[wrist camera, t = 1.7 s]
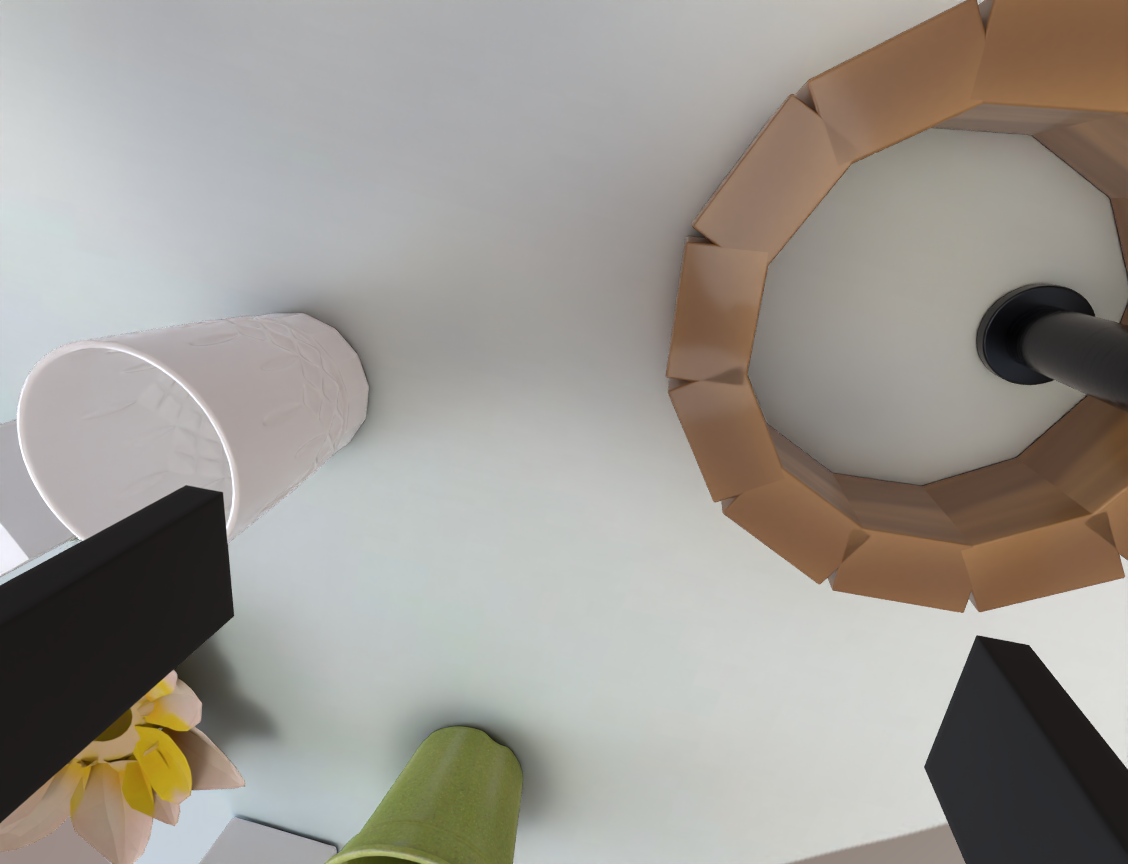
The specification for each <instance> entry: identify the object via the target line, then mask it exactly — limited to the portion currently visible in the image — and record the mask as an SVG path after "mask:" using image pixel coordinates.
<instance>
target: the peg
mask: <svg viewBox="0 0 1128 864" xmlns="http://www.w3.org/2000/svg"><path fill="white" fill-rule="evenodd" d="M977 349H978V353H979V356H980V358H981V360H982V362H983V364H984V365H985V366H986V367H987V368H988V369H989V370H990V371H991V372H992V373H994V374H995V375H997V376H999V377H1001V378H1002V379H1005V380H1007V381H1009V382H1012V383H1016V384H1021V385H1036V384H1042V383H1046V382H1050V381H1053V380H1056V381H1058V382H1060V383H1063V384H1065V385H1067V386H1069V387H1071V388H1074V389H1076V390H1078V391H1080V392H1083V393H1085V394H1087V395H1089V396H1091V397H1094V398H1096V399H1098V400H1100V401H1102V402H1105V403H1107V404H1109V405H1111V406H1114V407H1116V408H1118V409H1120V410H1122V411H1125V412H1127V413H1128V325H1125V324H1121V323H1117V322H1113V321H1109V320H1105V319H1101V318H1098V317H1095V314H1094V311H1093V309H1092V307H1091V305H1090V304H1089V303H1088V301H1087V300H1086V299H1085V298H1084V297H1083V296H1082V295H1080V294H1079V293H1077V292H1076V291H1074V290H1072V289H1069V288H1066V287H1062V286H1057V285H1051V284H1034V285H1028V286H1025V287H1021V288H1019V289H1016V290H1014V291H1012V292H1010V293H1008V294H1006V295H1005V296H1003V297H1002V298H1001V299H999V300H998V301H997V302H996V303H995V304H994V305H993V306H992V307H991V308H990V309H989V310H988V312H987V313H986V315H985V316H984V318H983V320H982V322H981V324H980V327H979V330H978V334H977Z"/></svg>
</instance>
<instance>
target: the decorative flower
mask: <svg viewBox="0 0 1128 864" xmlns="http://www.w3.org/2000/svg"><path fill="white" fill-rule="evenodd" d="M201 713H202V703H201V701H200V700H199V699H198V697H197V696H196V694H195V693H194V692H193V690H192V689H191V688H190V687H189V686H187V685H186V684H185V683H184V682H183V681H182V680H180V679H178V678H177V674H176V672H175V671H174V670H173V671H171V672H170V673H169V674H168V675H167V676H166V677H165V678H164V679H162V680H161V681H160V682H159V683H158V684H157V685H156V686H155V687H153V688H152V689H151V690H150V691H149V692H148V693H147V694H146V695H144V696H143V697H142V698H141V699H140V700H139V701H138V702H137V703H135V704H134V705H133V706H132V707H131V708H130V709H129V710H127V711H126V712H125V713H124V714H123V715H122V716H121V717H120V718H118V719H117V720H116V721H115V722H114V723H113V724H112V725H111V726H109V727H108V728H107V729H106V730H105V731H104V732H103V733H102V734H100V735H99V736H98V737H97V738H96V739H95V740H94V741H93V742H91V743H90V744H89V745H88V746H87V747H86V748H85V749H84V750H82V751H81V752H80V753H79V754H78V755H77V756H76V757H75V758H73V759H72V760H71V761H70V762H69V763H68V764H67V765H65V766H64V767H63V768H62V769H61V770H60V771H59V772H58V773H56V774H55V775H54V776H53V777H52V778H51V779H50V780H49V781H47V782H46V783H45V784H44V785H43V786H42V787H41V788H40V789H38V790H37V791H36V792H35V793H34V794H33V795H32V796H31V797H29V798H28V799H27V800H26V801H25V802H24V803H23V804H22V805H20V806H19V807H18V808H17V809H16V810H15V811H14V812H13V813H11V814H10V815H9V816H8V817H7V818H6V819H5V820H3V821H2V822H1V823H0V852H4V851H10V850H16V849H19V848H21V847H24V846H27V845H29V844H32V843H35V842H37V841H38V840H40V839H42V838H44V837H45V836H47V835H49V834H51V833H52V832H53V831H54V830H55V829H56V828H58V827H59V826H60V825H61V824H62V823H63V822H64V821H65V820H66V819H67V818H68V817H69V816H70V818H71V821H72V823H73V827H74V830H75V832H76V833H77V834H78V835H80V836H81V837H82V838H83V839H84V840H85V841H87V842H88V843H89V844H90V845H91V846H92V847H93V848H95V849H96V850H97V851H98V852H99V853H100V854H102V855H103V856H104V857H105V858H106V859H107V860H109V861H110V862H111V863H112V864H134V863H135V862H136V861H137V860H138V859H139V858H140V857H141V856H142V855H143V853H144V851H145V848H146V846H147V843H148V841H149V838H150V835H151V829H152V823H153V818H155V819H157V820H160V821H162V822H164V823H167V824H170V825H173V826H175V825H176V824H177V823H178V819H179V815H180V805H179V804H180V803H181V802H183V801H184V800H185V799H187V798H188V797H189V796H190V795H191V790H210V789H232V788H239V787H245V780H244V779H243V777H242V776H241V774H240V773H239V771H238V770H237V768H236V767H235V766H234V765H233V763H232V762H231V761H230V760H229V759H228V757H227V756H226V755H225V754H224V753H223V752H222V751H221V750H220V749H219V748H218V747H217V746H216V745H215V744H214V743H213V742H212V741H211V740H210V739H209V738H208V737H207V736H206V735H205V734H204V733H203V732H202V731H200V730H199V729H198V728H196V727H195V725H197V724H198V723H200V722H201ZM158 728H163V730H162V731H161V730H160V729H158Z"/></svg>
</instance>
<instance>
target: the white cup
mask: <svg viewBox="0 0 1128 864" xmlns="http://www.w3.org/2000/svg"><path fill="white" fill-rule="evenodd" d="M368 392H369V386H368V383H367V380H366V377H365V374H364V371H363V368H362V365H361V362H360V359H359V356H358V354H357V353H356V352H355V351H354V350H353V349H352V347H351V346H350V345H349V344H348V343H347V342H346V340H345V339H344V338H343V337H342V336H341V335H340V334H339V332H338V331H337V330H336V329H335V328H333V327H331V326H329V325H327V324H325V323H323V322H321V321H319V320H317V319H315V318H313V317H311V316H309V315H307V314H305V313H271V314H265V315H260V316H254V317H252V316H242V317H233V318H226V319H219V320H209V321H201V322H194V323H188V324H182V325H176V326H170V327H164V328H158V329H151V330H145V331H139V332H133V333H127V334H120V335H114V336H107V337H101V338H95V339H88V340H81V341H76V342H72V343H68V344H65V345H62V346H60V347H58V348H56V349H54V350H52V351H51V352H49V353H48V354H46V355H45V356H44V357H42V358H41V359H40V360H39V361H38V362H37V363H36V364H35V366H34V367H33V368H32V370H31V371H30V373H29V374H28V376H27V378H26V380H25V382H24V384H23V387H22V389H21V393H20V396H19V401H18V408H17V431H18V438H19V444H20V448H21V452H22V456H23V459H24V462H25V464H26V467H27V470H28V472H29V474H30V476H31V478H32V480H33V482H34V484H35V486H36V488H37V490H38V491H39V493H40V495H41V496H42V498H43V499H44V501H45V502H46V504H47V505H48V506H49V508H50V509H51V510H52V512H53V513H54V514H55V515H56V516H57V517H58V519H59V520H60V521H61V522H62V523H63V524H64V525H65V526H66V527H67V528H68V529H69V530H70V531H71V532H72V533H73V534H75V535H76V536H77V537H78V538H79V539H81V540H82V541H84V540H85V539H87V538H89V537H91V536H93V535H95V534H97V533H98V532H100V531H102V530H104V529H106V528H108V527H110V526H111V525H113V524H115V523H117V522H119V521H121V520H122V519H124V518H126V517H128V516H130V515H132V514H134V513H135V512H137V511H139V510H141V509H143V508H145V507H146V506H148V505H150V504H152V503H154V502H156V501H158V500H159V499H161V498H163V497H165V496H167V495H169V494H171V493H172V492H174V491H176V490H178V489H180V488H182V487H183V486H185V485H188V486H193V487H199V488H204V489H209V490H214V491H220V492H223V498H224V509H225V520H226V531H227V542H228V543H229V542H230V541H232V540H233V539H234V538H235V537H237V536H238V535H239V534H240V533H242V532H243V531H244V530H245V529H246V528H248V527H249V526H250V525H251V524H253V523H254V522H255V521H256V520H258V519H259V518H260V517H261V516H263V515H264V514H265V513H266V512H268V511H269V510H270V509H272V508H273V507H274V506H275V505H277V504H278V503H279V502H280V501H282V500H283V499H284V498H285V497H287V496H288V495H289V494H290V493H291V492H293V491H294V490H295V489H296V488H297V487H298V486H299V485H300V484H301V483H302V482H303V481H305V480H306V479H307V478H309V477H310V476H311V475H312V474H314V473H315V472H316V471H317V470H318V469H319V468H320V467H321V466H322V465H323V464H324V463H325V462H326V461H327V460H328V459H329V458H330V457H331V456H332V455H334V454H335V453H336V452H337V451H339V450H340V449H341V448H343V447H344V446H345V445H347V444H348V443H349V442H350V441H351V440H352V438H353V437H354V435H355V434H356V432H357V431H358V429H359V428H360V426H361V425H362V423H363V422H364V420H365V419H366V413H367V402H368Z"/></svg>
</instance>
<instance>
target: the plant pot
mask: <svg viewBox="0 0 1128 864" xmlns="http://www.w3.org/2000/svg"><path fill="white" fill-rule="evenodd" d="M522 786H523V774H522V770H521V767H520V764H519V762H518V760H517V759H516V757H515V755H514V754H513V753H512V751H511V750H510V749H509V748H508V747H506V746H502V745H499V744H498V743H496V742H494V741H493V740H492V739H491V738H490V737H489V736H488V735H487V734H486V733H485V732H483V731H481V730H478V729H474V728H469V727H460V726H454V727H447V728H443V729H439V730H437V731H435V732H433V733H432V734H431V735H430V736H429V737H428V738H427V739H426V740H424V741H423V742H422V744H421V745H420V746H419V748H418V749H417V751H416V752H415V753H414V755H413V756H412V758H411V759H410V761H409V762H408V764H407V765H406V767H405V768H404V769H403V771H402V772H401V774H400V775H399V777H398V778H397V780H396V781H395V783H394V784H393V786H392V787H391V788H390V790H389V791H388V793H387V794H386V796H385V797H384V799H383V800H382V801H381V803H380V804H379V806H378V807H377V809H376V810H375V812H374V813H373V815H372V816H371V817H370V819H369V820H368V822H367V823H366V824H365V826H364V827H363V828H362V830H361V831H360V833H359V834H357V835H356V836H354V837H353V838H352V839H351V840H350V841H349V842H348V843H347V844H346V845H345V846H344V848H343V849H342V851H341V852H340V853H338V854H336V855H334V856H333V857H331V858H330V859H329V860H327V861H326V862H325V863H324V864H513V857H514V849H515V841H516V832H517V825H518V818H519V810H520V802H521V794H522Z"/></svg>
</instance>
